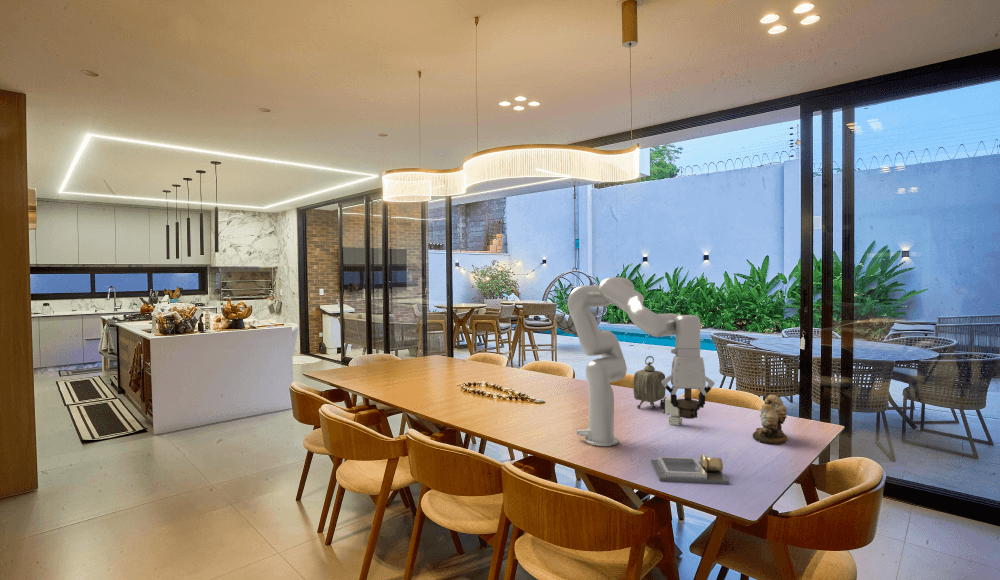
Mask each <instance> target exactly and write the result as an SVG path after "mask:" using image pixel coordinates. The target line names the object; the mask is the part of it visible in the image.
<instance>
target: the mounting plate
mask: <svg viewBox="0 0 1000 580" xmlns="http://www.w3.org/2000/svg"><path fill="white" fill-rule="evenodd" d="M651 463H652V464H651ZM650 464H651V465H653V466H652V468H653V467H654V468H653V470H654V469H655V470H654V472H655V475H656V476H657V479H658V478H659V479H658V480H660V482H667V481H669V483H692V484H713V485H715V484H716V485H717V484H718V485H729V484H730V480H729V478H727V477H726V476H725V474H724V473H723V468H724V466H723V459H722V458H721V457H706V454H704V453H701V455H700V461H698V459H697V458H696V457H681V456H678V457H677V456H657V459H650ZM670 481H671V482H670Z"/></svg>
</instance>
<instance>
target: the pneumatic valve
mask: <svg viewBox="0 0 1000 580" xmlns="http://www.w3.org/2000/svg"><path fill="white" fill-rule="evenodd" d="M678 399H684V398H681V397H677V400H678ZM659 408H660V410H661V411H662V412H663V414H665V415H670V416H669V417H668V419H667V420H668V421H667V422H668V423H669V424H670V425H671V426H680V425H682V423H683V418H682V417H679V415H678V408H676V407H674V406H673V405H672V404H671V396H665V397H664V398H663V399H661V400H660V402H659Z"/></svg>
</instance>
